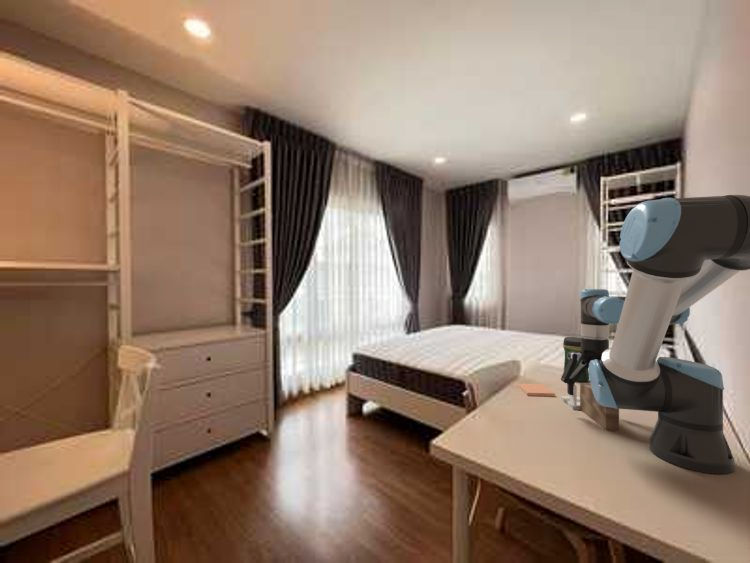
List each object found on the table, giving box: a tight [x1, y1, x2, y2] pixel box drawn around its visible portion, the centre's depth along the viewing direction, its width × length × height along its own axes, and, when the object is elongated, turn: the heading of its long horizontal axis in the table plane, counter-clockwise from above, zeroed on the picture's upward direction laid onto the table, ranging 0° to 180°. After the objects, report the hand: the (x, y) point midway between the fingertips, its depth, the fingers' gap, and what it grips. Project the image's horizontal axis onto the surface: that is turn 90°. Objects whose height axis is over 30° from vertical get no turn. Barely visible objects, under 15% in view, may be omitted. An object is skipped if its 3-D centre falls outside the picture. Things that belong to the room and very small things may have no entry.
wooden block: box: [560, 382, 620, 432], centre depth 111 cm, size 26×8×9 cm, turn 172°
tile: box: [516, 383, 556, 398], centre depth 134 cm, size 2×10×12 cm
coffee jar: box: [562, 336, 590, 383], centre depth 150 cm, size 10×8×19 cm
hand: (594, 406), depth 108 cm, fingers open, 12 cm apart
